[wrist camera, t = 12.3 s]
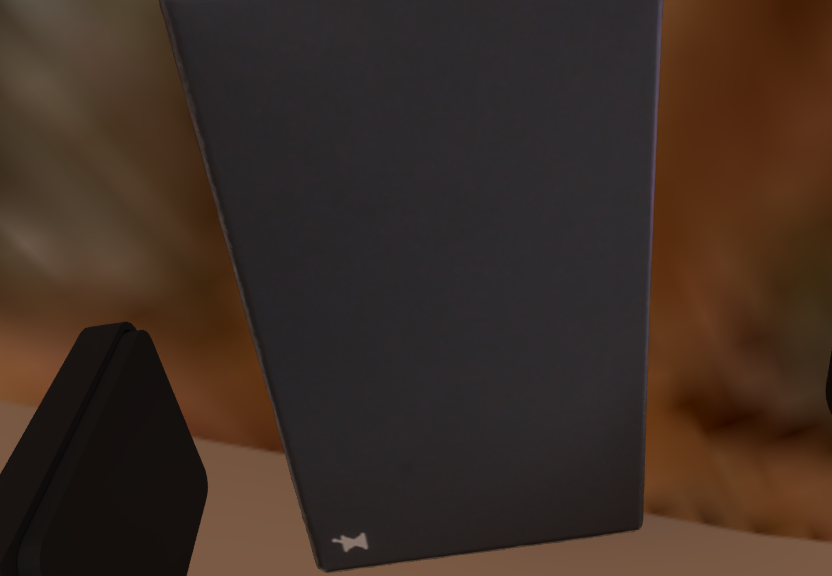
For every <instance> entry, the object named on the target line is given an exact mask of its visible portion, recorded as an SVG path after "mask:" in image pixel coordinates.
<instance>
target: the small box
mask: <svg viewBox="0 0 832 576" xmlns="http://www.w3.org/2000/svg"><path fill="white" fill-rule="evenodd" d="M159 3H160V8H161V11H162V14H163V17H164V20H165V24H166V28H167V31H168V35H169V39H170V43H171V46H172V50H173V54H174V58H175V61H176V65H177V68H178V72H179V75H180V79H181V83H182V86H183V90H184V93H185V97H186V100H187V104H188V107H189V111H190V115H191V118H192V122H193V126H194V129H195V133H196V137H197V141H198V144H199V148H200V152H201V156H202V160H203V163H204V167H205V170H206V174H207V177H208V180H209V183H210V187H211V190H212V193H213V197H214V200H215V203H216V207H217V211H218V217H219V220H220V224H221V227H222V231H223V234H224V238H225V241H226V244H227V248H228V252H229V256H230V259H231V262H232V266H233V269H234V273H235V276H236V280H237V284H238V288H239V292H240V296H241V300H242V304H243V307H244V311H245V315H246V318H247V322H248V325H249V329H250V332H251V335H252V338H253V342H254V346H255V350H256V353H257V357H258V361H259V364H260V367H261V370H262V373H263V377H264V381H265V385H266V389H267V392H268V395H269V398H270V400H271V403H272V407H273V411H274V415H275V419H276V423H277V427H278V431H279V435H280V439H281V442H282V445H283V448H284V452H285V455H286V459H287V463H288V467H289V471H290V475H291V479H292V482H293V485H294V489H295V492H296V495H297V499H298V502H299V506H300V509H301V512H302V518H303V521H304V523H305V525H306V531H307V533H308V536H309V540H310V544H311V548H312V552H313V556H314V559H315V562H316V565H317V567H318V569H320V570H321V571H323V572H326V573H333V572H341V571H348V570H353V569H358V568H370V567H376V566H382V565H391V564H396V563H404V562H413V561H420V560H428V559H438V558H444V557H450V556H457V555H464V554H473V553H481V552H489V551H498V550H505V549H509V548H517V547H524V546H534V545H541V544H549V543H558V542H564V541H571V540H579V539H585V538H592V537H601V536H606V535H612V534H622V533H628V532H635V531H637V530H639V529H640V528H641V526H642V523H643V494H644V474H645V435H646V404H647V374H648V344H649V315H650V290H651V264H652V239H653V215H654V190H655V166H656V141H657V119H658V99H659V78H660V58H661V38H662V14H663V0H159Z"/></svg>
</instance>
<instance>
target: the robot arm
mask: <svg viewBox="0 0 832 576" xmlns="http://www.w3.org/2000/svg"><path fill="white" fill-rule="evenodd" d="M826 400H827V404H828V407H829V410H830V412H831V414H832V352H831V358H830V364H829V371H828V377H827V383H826ZM207 493H208V482H207V475H206V471H205V468H204V466H203V463H202V461H201V458H200V456H199V454H198V451H197V449H196V446H195V444H194V441H193V439H192V436H191V434H190V432H189V429H188V427H187V424H186V422H185V419H184V417H183V415H182V412H181V410H180V407H179V405H178V402H177V400H176V397H175V395H174V393H173V390H172V388H171V385H170V383H169V380H168V378H167V375H166V373H165V371H164V368H163V366H162V363H161V361H160V358H159V356H158V354H157V351H156V349H155V346H154V344H153V341H152V339H151V337H150V335H149V334H148V333H147V332H146V331H144V330H139V331H137V330H136V328H135V327H134V326H133V325H132V324H131V323H129V322H121V323H114V324H107V325H100V326H93V327H88V328H85V329H84V330H83V331H82V332H81V333H80V335H79V337H78V338H77V340H76V342H75V344H74V346H73V347H72V349H71V351H70V353H69V354H68V356H67V358H66V360H65V361H64V363H63V365H62V367H61V368H60V370H59V372H58V374H57V375H56V377H55V379H54V381H53V382H52V384H51V386H50V388H49V389H48V391H47V393H46V395H45V397H44V398H43V400H42V402H41V404H40V405H39V407H38V409H37V411H36V412H35V414H34V416H33V418H32V419H31V421H30V423H29V425H28V426H27V428H26V430H25V432H24V433H23V435H22V437H21V439H20V441H19V442H18V444H17V446H16V448H15V449H14V451H13V453H12V455H11V456H10V458H9V460H8V462H7V463H6V465H5V467H4V469H3V470H2V472H1V474H0V576H187V572H188V568H189V564H190V560H191V556H192V552H193V549H194V545H195V541H196V537H197V533H198V529H199V525H200V522H201V517H202V514H203V510H204V506H205V502H206V498H207Z"/></svg>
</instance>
